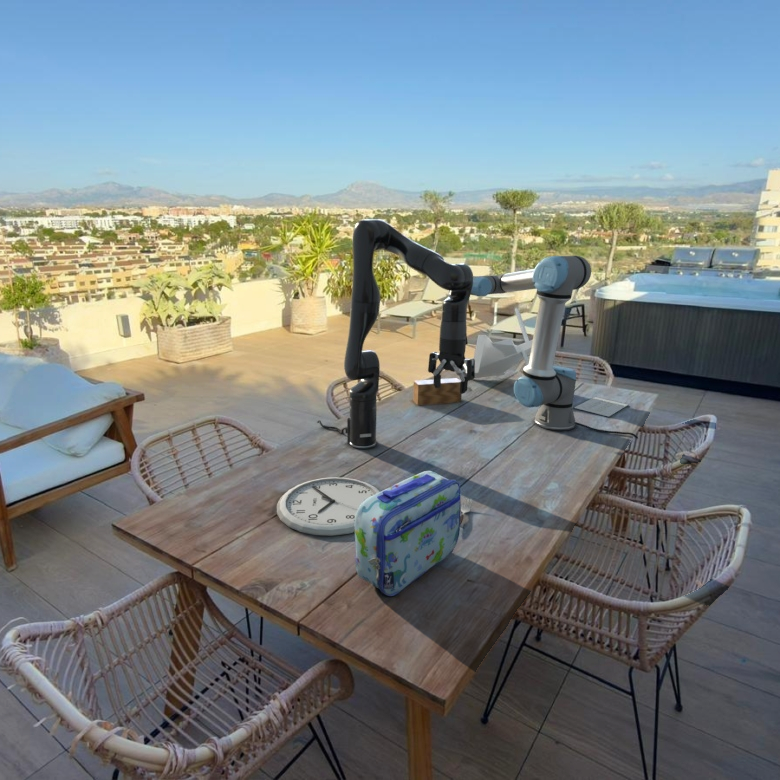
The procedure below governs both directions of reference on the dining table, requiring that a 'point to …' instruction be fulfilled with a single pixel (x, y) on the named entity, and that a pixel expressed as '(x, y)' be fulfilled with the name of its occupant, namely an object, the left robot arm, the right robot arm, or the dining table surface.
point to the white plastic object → (500, 353)
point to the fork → (465, 509)
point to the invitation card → (601, 406)
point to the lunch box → (406, 530)
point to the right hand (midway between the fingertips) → (454, 356)
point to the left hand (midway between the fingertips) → (450, 390)
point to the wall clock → (324, 505)
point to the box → (437, 392)
